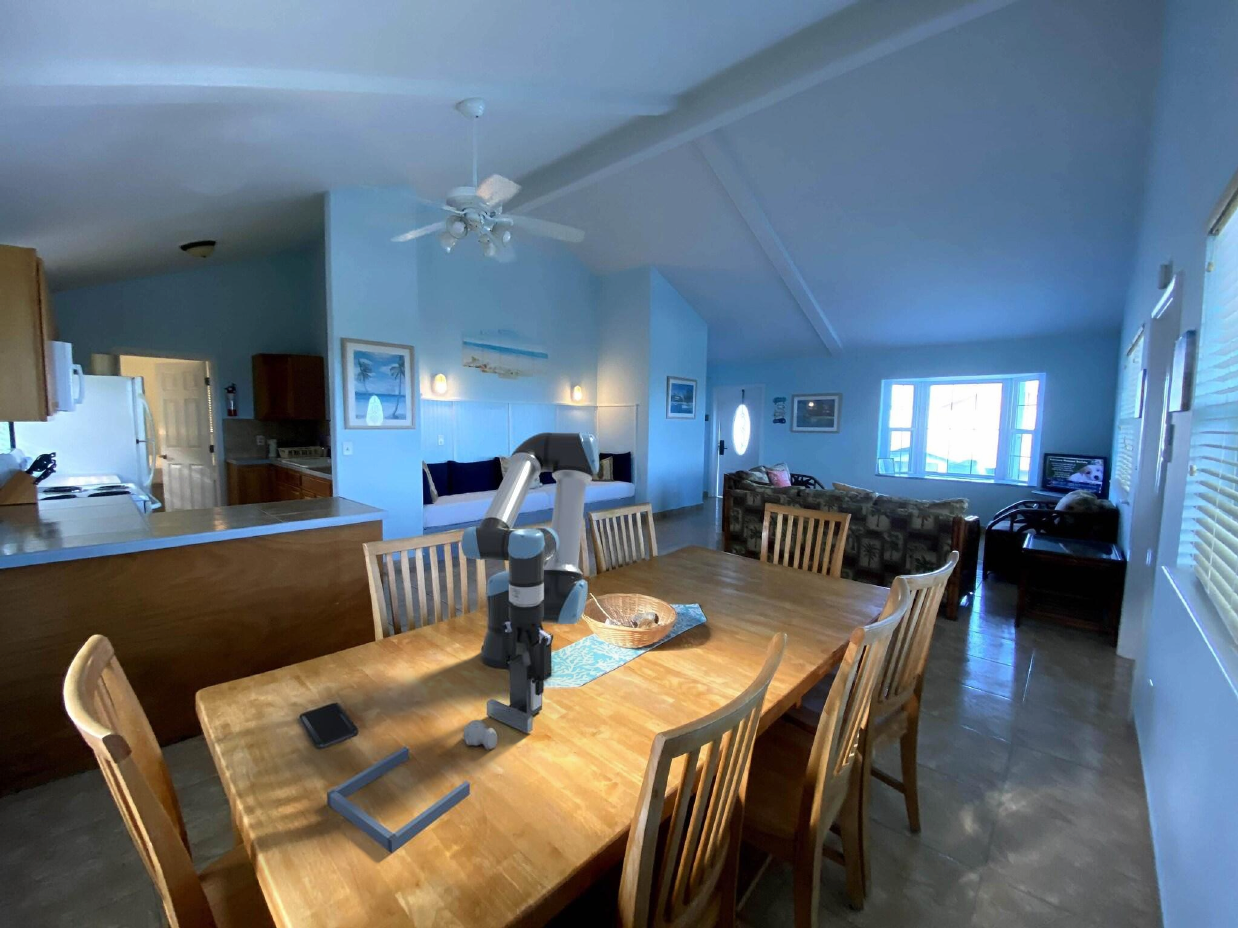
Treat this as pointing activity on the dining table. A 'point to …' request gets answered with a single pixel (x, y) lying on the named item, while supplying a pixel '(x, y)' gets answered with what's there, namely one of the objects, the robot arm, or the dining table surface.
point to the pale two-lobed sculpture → (480, 735)
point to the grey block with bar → (517, 697)
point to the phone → (328, 725)
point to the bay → (372, 826)
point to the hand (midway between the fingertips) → (526, 702)
